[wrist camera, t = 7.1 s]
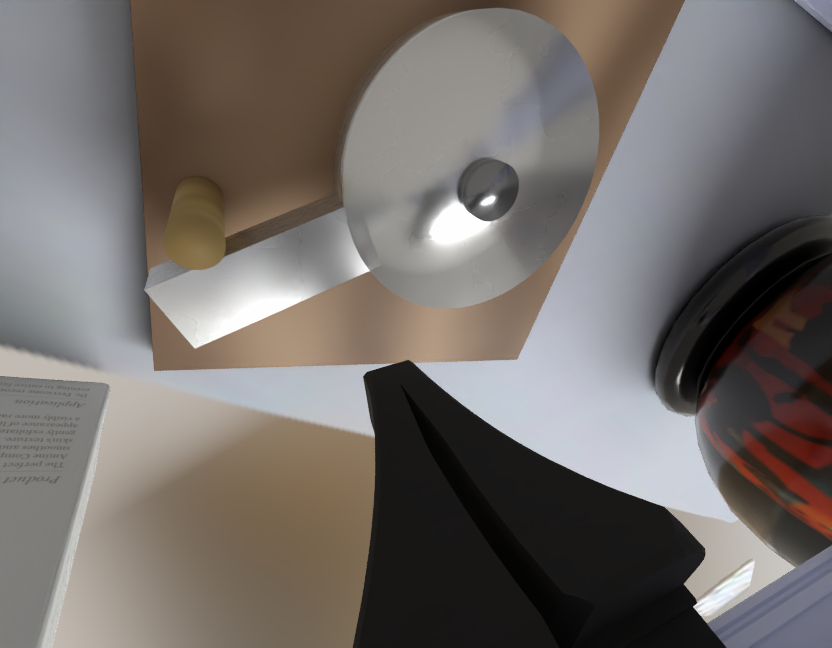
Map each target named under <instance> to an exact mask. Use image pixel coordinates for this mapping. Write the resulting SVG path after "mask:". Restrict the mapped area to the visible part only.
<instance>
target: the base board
mask: <svg viewBox="0 0 832 648" xmlns="http://www.w3.org/2000/svg"><path fill="white" fill-rule="evenodd" d="M684 1H685V0H130V5H131V21H132V36H133V52H134V67H135V82H136V98H137V113H138V129H139V144H140V160H141V175H142V191H143V206H144V222H145V237H146V252H147V268H148V275H149V272H150V268H152V267H155V266H157V265H159V264H162V263H164V262H167V261H169V260H173V261H174V262H175V263H176V264H178V265H180V266H182V267H184V268H187V269H191V270H205V269H209V268H211V267H214V266H215V265H217V264H218V263H219V262H220V261H221V260H222V258H223V257H224V255H225V251H226V240H225V238H226V237H228V236H230V235H233V234H235V233H238V232H240V231H243V230H245V229H248V228H250V227H252V226H255V225H257V224H260V223H262V222H265V221H267V220H270V219H272V218H275V217H277V216H279V215H282V214H284V213H287V212H289V211H292V210H294V209H297V208H299V207H301V206H304V205H306V204H309V203H311V202H314V201H316V200H319V199H321V198H323V197H326V196H328V195H331V194H333V193H334V184H333V162H334V150H335V145H336V140H337V135H338V130H339V127H340V124H341V121H342V118H343V115H344V112H345V109H346V107H347V105H348V102H349V100H350V98H351V96H352V94H353V92H354V90H355V88H356V86H357V85H358V83H359V82H360V80H361V78H362V77H363V75H364V74H365V72H366V71H367V69H368V68H369V67H370V66H371V64H372V63H373V62H374V61H375V60H376V58H377V57H378V56H379V55H380V54H381V53H382V52H383V51H384V50H385V49H386V48H387V47H388V46H389V45H390V44H391V43H393V42H394V41H395V40H396V39H397V38H398V37H400V36H401V35H403V34H404V33H406V32H407V31H409V30H410V29H412V28H413V27H415V26H416V25H419V24H421V23H423V22H425V21H427V20H430V19H432V18H434V17H437V16H441V15H445V14H449V13H453V12H459V11H467V10H476V9H488V8H506V9H514V10H520V11H523V12H526V13H529V14H532V15H535V16H537V17H539V18H541V19H543V20H544V21H546V22H548V23H550V24H551V25H553V26H554V27H555V28H556V29H558V30H559V31H560V32H561V33H562V34H563V35H565V36H566V37H567V39H568V40H569V41H570V42H571V44H572V45H573V46H574V47H575V48H576V50H577V51H578V53H579V55H580V56H581V58H582V60H583V61H584V63H585V65H586V67H587V70H588V72H589V75H590V77H591V80H592V82H593V86H594V90H595V94H596V98H597V105H598V113H599V144H598V154H597V160H596V165H595V170H594V174H593V177H592V181H591V184H590V188H589V190H588V193H587V196H586V198H585V201H584V203H583V206H582V208H581V210H580V212H579V214H578V216H577V218H576V220H575V222H574V223H573V225H572V227H571V228H570V230H569V232H568V233H567V235H566V236H565V238H564V239H563V240H562V242H561V243H560V245H559V246H558V247H557V249H556V250H555V251H554V252H553V253H552V254H551V256H550V257H549V258H548V259H547V260H546V261H545V262H544V263H543V264H542V265H541V266H540V267H539V268H538V269H537V270H536V271H535V272H534V273H532V274H531V275H530V276H529V277H528V278H526V279H525V280H524V281H523V282H521V283H520V284H518V285H517V286H515V287H514V288H512V289H511V290H509V291H507V292H505V293H503V294H501V295H500V296H497V297H495V298H493V299H490V300H488V301H486V302H482V303H479V304H475V305H472V306H467V307H461V308H447V309H443V308H431V307H427V306H422V305H418V304H415V303H413V302H410V301H407V300H405V299H403V298H401V297H400V296H398V295H396V294H394V293H393V292H391V291H390V290H389V289H387V288H386V287H385V286H384V285H382V284H381V283H380V282H379V281H378V280H377V279H376V277H375V276H374V275H373V274H372V273H371V272H370V271H368V272H366V273H364V274H362V275H359V276H357V277H355V278H353V279H350V280H348V281H346V282H344V283H342V284H339V285H337V286H335V287H333V288H330V289H328V290H326V291H324V292H321V293H319V294H317V295H315V296H312V297H310V298H308V299H306V300H303V301H301V302H299V303H297V304H294V305H292V306H290V307H288V308H285V309H283V310H281V311H279V312H276V313H274V314H272V315H270V316H267V317H265V318H263V319H261V320H258V321H256V322H254V323H252V324H249V325H247V326H245V327H243V328H240V329H238V330H236V331H234V332H231V333H229V334H227V335H225V336H222V337H220V338H218V339H216V340H213V341H211V342H209V343H207V344H204V345H202V346H200V347H198V348H196V349H195V348H194V347H193V346H192V345H191V344H190V343H189V341H188V340H187V339H186V338H185V337H184V336H183V334H182V333H181V332H180V331H179V330H178V329H177V328H176V326H175V325H174V324H173V323H172V322H171V321H170V319H169V318H168V317H167V316H166V315H165V314H164V312H163V311H162V310H161V309H160V308H159V307H158V305H157V304H156V303H155V302H154V301H153V300H152V299H151V297H150V296H149V299H150V314H151V330H152V345H153V361H154V371H163V370H195V369H227V368H259V367H291V366H323V365H355V364H387V363H399V362H403V361H406V360H410V361H411V362H413V363H419V362H451V361H483V360H515V359H518V356H519V354H520V352H521V350H522V348H523V346H524V344H525V341H526V339H527V337H528V335H529V333H530V331H531V329H532V326H533V324H534V322H535V320H536V318H537V316H538V314H539V311H540V309H541V307H542V305H543V303H544V301H545V299H546V296H547V294H548V292H549V290H550V288H551V286H552V284H553V281H554V279H555V277H556V275H557V273H558V271H559V269H560V266H561V264H562V262H563V260H564V258H565V256H566V254H567V251H568V249H569V247H570V245H571V243H572V241H573V239H574V237H575V234H576V232H577V230H578V228H579V226H580V224H581V222H582V219H583V217H584V215H585V213H586V211H587V209H588V207H589V204H590V202H591V200H592V198H593V196H594V194H595V192H596V189H597V187H598V185H599V183H600V181H601V179H602V177H603V174H604V172H605V170H606V168H607V166H608V164H609V162H610V159H611V157H612V155H613V153H614V151H615V149H616V147H617V144H618V142H619V140H620V138H621V136H622V134H623V132H624V129H625V127H626V125H627V123H628V121H629V119H630V117H631V114H632V112H633V110H634V108H635V106H636V104H637V102H638V100H639V97H640V95H641V93H642V91H643V89H644V87H645V85H646V82H647V80H648V78H649V76H650V74H651V72H652V70H653V67H654V65H655V63H656V61H657V59H658V57H659V55H660V52H661V50H662V48H663V46H664V44H665V42H666V40H667V37H668V35H669V33H670V31H671V29H672V27H673V25H674V22H675V20H676V18H677V16H678V14H679V12H680V10H681V7H682V5H683V3H684Z"/></svg>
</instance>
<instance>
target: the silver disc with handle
mask: <svg viewBox="0 0 832 648" xmlns="http://www.w3.org/2000/svg"><path fill="white" fill-rule="evenodd" d="M598 144H599V113H598V105H597V98H596V94H595V90H594V86H593V82H592V80H591V77H590V75H589V72H588V70H587V67H586V65H585V63H584V61H583V60H582V58H581V56H580V55H579V53H578V51H577V50H576V48H575V47H574V46H573V45H572V44H571V42H570V41H569V40H568V39H567V37H566V36H565V35H563V34H562V33H561V32H560V31H559V30H558V29H556V28H555V27H554V26H553V25H551V24H550V23H548V22H546V21H544V20H543V19H541V18H539V17H537V16H535V15H532V14H529V13H526V12H523V11H520V10H514V9H506V8H488V9H476V10H467V11H459V12H453V13H449V14H445V15H441V16H437V17H434V18H432V19H430V20H427V21H425V22H423V23H421V24H419V25H416V26H415V27H413V28H412V29H410V30H409V31H407V32H406V33H404V34H403V35H401V36H400V37H398V38H397V39H396V40H395V41H394V42H393V43H391V44H390V45H389V46H388V47H387V48H386V49H385V50H384V51H383V52H382V53H381V54H380V55H379V56H378V57H377V58H376V60H375V61H374V62H373V63H372V64H371V66H370V67H369V68H368V69H367V71H366V72H365V74H364V75H363V77H362V78H361V80H360V82H359V83H358V85H357V86H356V88H355V90H354V92H353V94H352V96H351V98H350V100H349V102H348V105H347V107H346V109H345V112H344V115H343V118H342V121H341V124H340V127H339V130H338V135H337V140H336V145H335V150H334V162H333V184H334V193H333V194H331V195H328V196H326V197H323V198H321V199H319V200H316V201H314V202H311V203H309V204H306V205H304V206H301V207H299V208H297V209H294V210H292V211H289V212H287V213H284V214H282V215H279V216H277V217H275V218H272V219H270V220H267V221H265V222H262V223H260V224H257V225H255V226H252V227H250V228H248V229H245V230H243V231H240V232H238V233H235V234H233V235H230V236H228V237H226V238H225V240H226V251H225V255H224V257H223V258H222V260H221V261H220V262H219V263H218V264H217V265H215V266H214V267H211V268H209V269H205V270H191V269H187V268H184V267H182V266H180V265H178V264H176V263H175V262H174V261H173V260H169V261H167V262H164V263H162V264H159V265H157V266H155V267H152V268H150V272H149V275H148V279H147V282H146V286H145V289H144V290H145V292H146V293H147V294H148V295H149V296H150V297H151V299H152V300H153V301H154V302H155V303H156V304H157V305H158V307H159V308H160V309H161V310H162V311H163V312H164V314H165V315H166V316H167V317H168V318H169V319H170V321H171V322H172V323H173V324H174V325H175V326H176V328H177V329H178V330H179V331H180V332H181V333H182V334H183V336H184V337H185V338H186V339H187V340H188V341H189V343H190V344H191V345H192V346H193V347H194V348H195V349H196V348H198V347H200V346H202V345H204V344H207V343H209V342H211V341H213V340H216V339H218V338H220V337H222V336H225V335H227V334H229V333H231V332H234V331H236V330H238V329H240V328H243V327H245V326H247V325H249V324H252V323H254V322H256V321H258V320H261V319H263V318H265V317H267V316H270V315H272V314H274V313H276V312H279V311H281V310H283V309H285V308H288V307H290V306H292V305H294V304H297V303H299V302H301V301H303V300H306V299H308V298H310V297H312V296H315V295H317V294H319V293H321V292H324V291H326V290H328V289H330V288H333V287H335V286H337V285H339V284H342V283H344V282H346V281H348V280H350V279H353V278H355V277H357V276H359V275H362V274H364V273H366V272H368V271H370V272H371V273H372V274H373V275H374V276H375V277H376V279H377V280H378V281H379V282H380V283H381V284H382V285H384V286H385V287H386V288H387V289H389V290H390V291H391V292H393V293H394V294H396V295H398V296H400V297H401V298H403V299H405V300H407V301H410V302H413V303H415V304H418V305H422V306H427V307H431V308H443V309H447V308H461V307H467V306H472V305H475V304H479V303H482V302H486V301H488V300H490V299H493V298H495V297H497V296H500V295H501V294H503V293H505V292H507V291H509V290H511V289H512V288H514V287H515V286H517V285H518V284H520V283H521V282H523V281H524V280H525V279H526V278H528V277H529V276H530V275H531V274H532V273H534V272H535V271H536V270H537V269H538V268H539V267H540V266H541V265H542V264H543V263H544V262H545V261H546V260H547V259H548V258H549V257H550V256H551V254H552V253H553V252H554V251H555V250H556V249H557V247H558V246H559V245H560V243H561V242H562V240H563V239H564V238H565V236H566V235H567V233H568V232H569V230H570V228H571V227H572V225H573V223H574V222H575V220H576V218H577V216H578V214H579V212H580V210H581V208H582V206H583V203H584V201H585V198H586V196H587V193H588V190H589V188H590V184H591V181H592V177H593V174H594V170H595V165H596V160H597V154H598Z"/></svg>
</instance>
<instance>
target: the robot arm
mask: <svg viewBox="0 0 832 648" xmlns="http://www.w3.org/2000/svg"><path fill="white" fill-rule="evenodd" d="M794 1H795V2H797V3H798V4H799V5H800V6H801V7H803V8H804V9H805V10H806V11H807V12H808V13H810V14H811V15H812V16H813V17H814V18H816V19H817V20H818V21H819V22H820V23H822V24H823V25H824V26H825V27H826V28H828V29H829V30H830V31H831V32H832V0H794ZM363 378H364V384H365V390H366V396H367V401H368V407H369V413H370V419H371V423H372V426H373V429H374V433H375V463H376V464H375V493H374V508H373V519H372V530H371V540H370V548H369V555H368V562H367V569H366V576H365V583H364V590H363V596H362V602H361V608H360V612H359V618H358V623H357V628H356V634H355V639H354V644H353V648H832V545H831V546H830V547H828V548H827V549H825V550H823V551H822V552H820V553H819V554H817V555H815V556H814V557H812V558H811V559H809V560H807V561H806V562H804V563H803V564H801V565H800V566H798V567H796V568H795V569H793V570H792V571H790V572H788V573H787V574H785V575H784V576H782V577H780V578H779V579H777V580H776V581H774V582H772V583H771V584H769V585H768V586H766V587H764V588H763V589H762V590H760V591H758V592H756V593H755V594H753V595H752V596H750V597H748V598H747V599H745V600H744V601H742V602H741V603H739V604H737V605H736V606H734V607H733V608H731V609H729V610H728V611H726V612H725V613H723V614H721V615H720V616H718V617H717V618H715V619H713V620H712V621H710V622H709V623H706V622H705V621H704V620H703V618H702V617H701V616H700V615H699V614H698V612H697V611H696V610H695V609H694V608H693V606H694V605H695V604H696V603H697V602H696V599H695V597H694V596H693V595H692V594H691V593H690V591H689V590H688V589H687V588H686V587H685V585H684V583H685V582H686V580H687V579H688V578H689V577H690V576H691V574H692V573H693V572H694V571H695V570H696V569H697V568H698V566H699V565H700V564H701V562H702V561H703V560H704V557H705V548H704V547H703V546H702V545H701V544H700V543H699V542H698V541H697V540H696V539H695V537H694V536H693V535H692V534H691V533H690V532H689V531H688V530H687V529H686V528H685V526H684V525H683V524H682V523H681V522H680V521H678V519H676V518H675V517H674V516H673V515H672V514H671V513H670V512H669V511H668V510H667V509H666V508H665V507H663V506H660V505H657V504H654V503H651V502H649V501H646V500H643V499H640V498H638V497H635V496H632V495H629V494H626V493H624V492H621V491H618V490H616V489H613V488H610V487H608V486H606V485H603V484H601V483H599V482H596V481H594V480H592V479H589V478H587V477H585V476H582V475H580V474H578V473H576V472H574V471H572V470H570V469H568V468H566V467H564V466H562V465H560V464H558V463H555V462H553V461H551V460H549V459H547V458H545V457H543V456H541V455H540V454H538V453H536V452H534V451H532V450H531V449H529V448H527V447H525V446H523V445H522V444H520V443H518V442H517V441H515V440H513V439H512V438H510V437H508V436H507V435H505V434H503V433H502V432H500V431H499V430H497V429H496V428H494V427H493V426H491V425H490V424H488V423H487V422H485V421H484V420H482V419H481V418H480V417H478V416H477V415H475V414H474V413H473V412H471V411H470V410H469V409H467V408H466V407H465V406H463V405H462V404H461V403H459V402H458V401H457V400H456V399H454V398H453V397H452V396H450V395H449V394H448V393H447V392H445V391H444V390H443V389H442V388H441V387H439V386H438V385H437V384H436V383H435V382H434V381H432V380H431V379H430V378H429V377H428V376H427V375H426V374H425V373H423V372H422V371H421V370H420V369H419V368H418V367H417V366H416V365H415V364H414V363H413V362H411V361H410V360H406V361H403V362H399V363H396V364H392V365H389V366H386V367H382V368H379V369H376V370H372V371H369V372H367V373H366V374H365V375H364V376H363Z"/></svg>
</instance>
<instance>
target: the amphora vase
mask: <svg viewBox="0 0 832 648" xmlns="http://www.w3.org/2000/svg"><path fill="white" fill-rule="evenodd" d="M655 388H656V394H657V395H658V397H659V399H660V401H661V403H662V404H663V405H664V406H665V407H666V408H667V409H668V410H670V411H672V412H674V413H677V414H679V415H683V416H695V425H696V432H697V439H698V445H699V448H700V451H701V454H702V456H703V459H704V462H705V465H706V468H707V471H708V473H709V475H710V477H711V479H712V481H713V483H714V485H715V486H716V488H717V489H718V491H719V493H720V494H721V496H722V497H723V499H724V501H725V502H726V504H727V505H728V507H729V509H730V510H731V511H732V512H733V513H734V514H735V515H736V516H737V517H738V518H739V519H740V520H741V521H742V522H743V523H744V524H745V525H746V526H747V527H748V528H749V529H750V530H751V531H752V532H753V533H754V534H755V535H756V536H757V537H758V538H759V539H760V540H761V541H762V542H764V544H765V545H767V546H768V547H769V548H770V549H771V550H772V551H774V552H775V553H776V554H778V555H779V556H781V557H782V558H783V559H785V560H786V561H788V562H789V563H790V564H792V565H793V566H794V567H798V566H800V565H801V564H803V563H804V562H806V561H807V560H809V559H811V558H812V557H814V556H815V555H817V554H819V553H820V552H822V551H823V550H825V549H827V548H828V547H830V546H831V545H832V215H818V216H808V217H804V218H801V219H797V220H795V221H792V222H790V223H787V224H785V225H783V226H780V227H778V228H775V229H773V230H771V231H770V232H768V233H767V234H765V235H764V236H762V237H761V238H759V239H757V240H756V241H754V242H753V243H751V244H750V245H748V246H747V247H745V248H744V249H743V250H741V251H740V252H739V253H738V254H736V255H735V256H734V257H733V258H732V259H731V260H729V261H728V262H727V263H726V264H725V265H724V266H723V267H721V268H720V269H719V270H718V271H717V272H716V273H715V274H714V275H713V276H712V277H711V278H710V279H709V280H708V281H707V283H706V284H705V285H704V286H703V287H702V288H701V289H700V290H699V291H698V292H697V294H696V295H695V296H694V297H693V298H692V300H691V301H690V302H689V304H688V305H687V307H686V308H685V309H684V311H683V312H682V313H681V315H680V316H679V318H678V319H677V320H676V322H675V324H674V326H673V328H672V330H671V332H670V333H669V335H668V337H667V339H666V341H665V343H664V345H663V348H662V350H661V353H660V357H659V360H658V363H657V366H656V370H655Z"/></svg>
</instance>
